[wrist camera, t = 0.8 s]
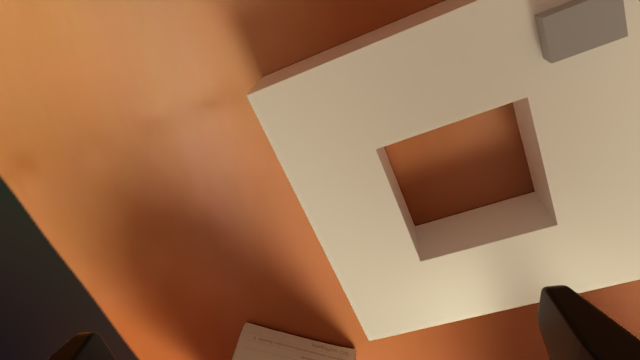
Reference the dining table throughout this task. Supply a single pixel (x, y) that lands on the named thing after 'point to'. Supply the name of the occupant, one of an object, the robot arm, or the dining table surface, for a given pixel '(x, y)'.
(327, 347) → the supplement box
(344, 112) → the socket
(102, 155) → the dining table surface
